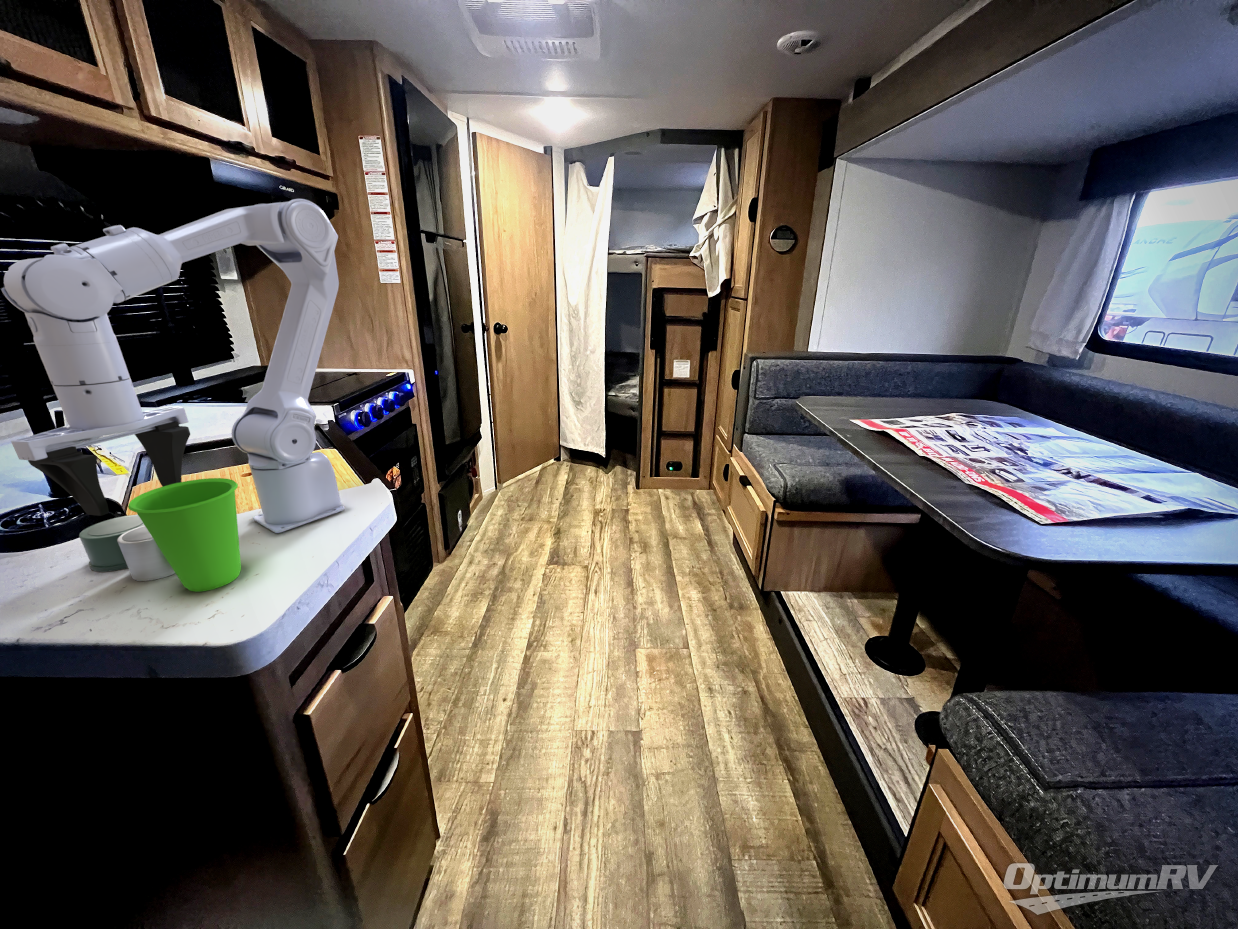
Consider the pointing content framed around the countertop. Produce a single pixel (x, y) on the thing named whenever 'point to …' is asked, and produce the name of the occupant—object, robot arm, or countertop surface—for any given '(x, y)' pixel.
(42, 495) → the countertop surface
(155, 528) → the cup
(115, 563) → the green round puck
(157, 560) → the steel cup
